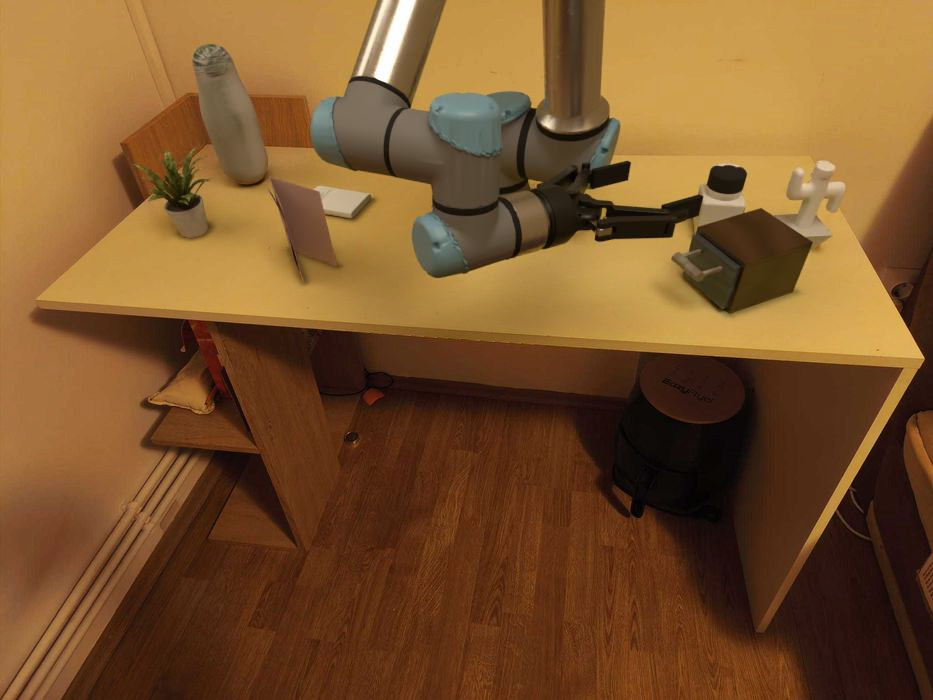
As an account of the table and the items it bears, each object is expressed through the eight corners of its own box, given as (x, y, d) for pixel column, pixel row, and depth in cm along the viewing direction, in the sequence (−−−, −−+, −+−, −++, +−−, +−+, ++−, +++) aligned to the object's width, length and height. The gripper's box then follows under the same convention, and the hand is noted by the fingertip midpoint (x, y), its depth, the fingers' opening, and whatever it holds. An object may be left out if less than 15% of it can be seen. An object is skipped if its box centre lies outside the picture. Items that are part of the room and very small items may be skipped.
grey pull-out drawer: (695, 318, 95) (706, 278, 89) (657, 283, 101) (665, 243, 96) (780, 289, 99) (796, 248, 93) (738, 257, 105) (751, 217, 100)
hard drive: (352, 220, 122) (299, 210, 125) (371, 199, 127) (320, 190, 131) (350, 213, 120) (297, 203, 124) (370, 192, 126) (318, 183, 129)
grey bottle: (217, 183, 135) (169, 48, 116) (256, 165, 140) (215, 33, 121) (244, 196, 130) (197, 58, 111) (282, 177, 136) (245, 42, 116)
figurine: (831, 253, 106) (866, 173, 96) (776, 255, 106) (805, 176, 96) (813, 230, 112) (845, 152, 101) (761, 232, 112) (787, 155, 101)
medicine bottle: (735, 240, 110) (754, 179, 102) (694, 237, 112) (709, 177, 103) (731, 219, 115) (749, 159, 107) (692, 216, 117) (706, 157, 108)
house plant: (250, 229, 121) (224, 150, 110) (186, 261, 114) (151, 181, 103) (213, 205, 128) (184, 129, 117) (150, 234, 121) (114, 156, 110)
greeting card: (286, 250, 115) (263, 177, 104) (324, 240, 117) (306, 167, 106) (299, 284, 107) (276, 208, 97) (340, 272, 109) (322, 197, 99)
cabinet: (729, 313, 96) (745, 263, 90) (685, 275, 104) (697, 226, 97) (792, 292, 99) (813, 242, 93) (745, 256, 107) (761, 207, 100)
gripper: (481, 210, 87) (599, 181, 95) (594, 293, 69) (725, 249, 78) (482, 158, 82) (605, 133, 90) (604, 233, 65) (742, 193, 73)
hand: (661, 186), depth 84 cm, fingers open, 13 cm apart
